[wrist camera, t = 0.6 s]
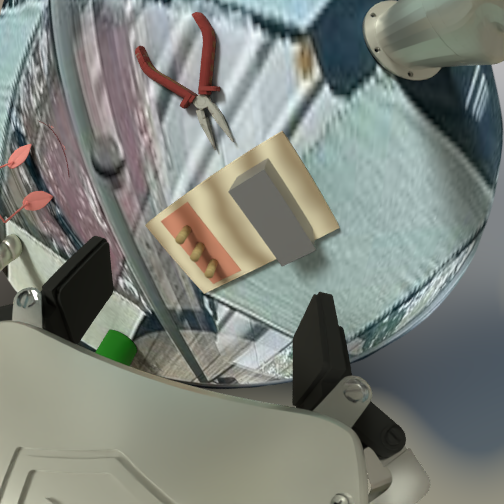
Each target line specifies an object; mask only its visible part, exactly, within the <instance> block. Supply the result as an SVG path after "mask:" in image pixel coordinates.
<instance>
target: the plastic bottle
mask: <svg viewBox="0 0 504 504" xmlns="http://www.w3.org/2000/svg"><path fill="white" fill-rule="evenodd" d="M21 253H22V244H21V241H20V239H19V238H18V237H17V236H16V235H14V234H11V235H9V236H7V237H6V238H5V239H4V240H3V242H2V243H1V244H0V271H1V270H2V269H3V268H4V267H5V266H6V265H8V264H9V263H10V262H11V261H13V260H15V259H17V258H18V257H19V256H20V254H21Z"/></svg>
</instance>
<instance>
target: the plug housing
mask: <svg viewBox="0 0 504 504" xmlns="http://www.w3.org/2000/svg"><path fill="white" fill-rule="evenodd" d="M228 192H229V194H230V195H231V196H232V198H233V199H234V200H235V202H236V203H237V205H238V206H239V207H240V209H241V210H242V211H243V213H244V214H245V216H246V217H247V218H248V220H249V221H250V223H251V224H252V225H253V227H254V228H255V229H256V231H257V232H258V234H259V235H260V236H261V238H262V239H263V241H264V242H265V243H266V245H267V246H268V248H269V249H270V250H271V252H272V253H273V255H274V256H275V257H276V259H277V260H278V262H279V263H280V264H281V266H284V265H286V264H288V263H290V262H292V261H295V260H297V259H299V258H301V257H303V256H305V255H307V254H309V253H311V252H313V251H315V250H316V247H315V240H314V234H313V228H312V226H311V224H310V223H309V221H308V219H307V218H306V216H305V214H304V213H303V211H302V210H301V208H300V206H299V205H298V203H297V202H296V200H295V198H294V197H293V195H292V194H291V192H290V190H289V189H288V187H287V186H286V184H285V183H284V181H283V180H282V178H281V177H280V175H279V174H278V172H277V170H276V169H275V167H274V166H273V164H272V163H271V161H270V160H269V159H268V158H267V159H265V160H264V161H262V162H260V163H259V164H257V165H255V166H254V167H252V168H250V169H249V170H247V171H246V172H244V173H242V174H241V175H239V176H238V177H237V178H236V180H235V181H234V183H233V185H232V186H231V188H230V189H229V191H228Z"/></svg>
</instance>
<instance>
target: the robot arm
mask: <svg viewBox="0 0 504 504" xmlns="http://www.w3.org/2000/svg"><path fill="white" fill-rule="evenodd" d="M371 16H373V17H371ZM363 35H364V40H365V42H366V44H367V47H368V49H369V50H370V52H371V54H372V55H373V56H374V58H375V59H376V60H377V61H378V62H379V63H380V64H381V65H382V66H383V67H384V68H385V69H387V70H388V71H389V72H391V73H393V74H395V75H396V76H398V77H401V78H404V79H408V80H425V79H428V78H431V77H433V76H434V75H435V74H437V73H438V72H439V70H440V69H441V67H449V66H466V65H492V64H497V63H500V62H502V61H504V0H399V1H384V2H380V3H378V4H376V5H374V6H373V7H372V8H371V9H370V10H369V11H368V12H367V14H366V16H365V18H364V22H363ZM374 49H376V50H377V52H375V50H374ZM408 73H409V75H408ZM42 288H43V289H42V291H41V292H40V291H39V290H38V289H36V288H25V289H23V290H21V291H19V292H18V293H17V294H16V296H15V298H14V302H13V304H10V305H6V306H2V307H0V504H416V503H417V502H418V501H419V500H420V499H421V498H423V497H424V496H425V495H426V493H427V492H428V491H429V488H430V479H429V477H428V475H427V473H426V472H425V471H424V469H423V467H422V466H421V464H420V463H419V462H418V460H417V458H416V457H415V455H414V454H413V452H412V451H411V449H406V447H405V442H406V437H405V433H404V431H403V430H402V428H401V427H400V426H399V425H397V424H396V423H395V422H394V421H393V420H392V419H390V418H389V417H388V416H387V415H386V414H385V413H383V412H382V411H381V410H380V409H379V408H378V407H376V406H375V405H374V404H373V403H372V402H371V398H372V391H371V388H370V386H369V384H368V383H367V382H366V381H365V380H363V379H362V378H360V377H357V376H352V373H351V367H350V361H349V355H348V350H347V344H346V339H345V334H344V330H343V328H342V327H341V326H339V325H338V320H337V315H336V310H335V305H334V300H333V296H332V295H331V294H327V293H322V292H319V293H318V295H316V294H314V295H313V297H312V299H311V301H310V303H309V306H308V308H307V310H306V312H305V314H304V316H303V318H302V320H301V322H300V325H299V327H298V329H297V331H296V333H295V335H294V338H293V405H294V406H296V408H294V407H289V406H283V405H277V404H271V403H265V402H260V401H255V400H250V399H245V398H239V397H234V396H230V395H225V394H221V393H217V392H212V391H208V390H204V389H200V388H197V387H193V386H189V385H186V384H182V383H179V382H175V381H172V380H168V379H165V378H162V377H159V376H156V375H153V374H150V373H147V372H144V371H141V370H138V369H135V368H132V367H130V366H127V365H124V364H122V363H119V362H116V361H114V360H111V359H109V358H106V357H104V356H101V355H99V354H96V353H94V352H92V351H89V350H87V349H85V348H83V347H80V346H78V345H76V344H78V343H79V342H80V340H81V339H82V337H83V336H84V334H85V333H86V331H87V330H88V328H89V327H90V325H91V324H92V322H93V321H94V319H95V318H96V316H97V315H98V313H99V312H100V311H101V309H102V308H103V306H104V305H105V303H106V302H107V301H108V299H109V298H110V296H111V295H112V293H113V281H112V271H111V261H110V249H109V243H107V241H106V239H105V238H101V237H98V236H94V237H92V238H91V239H90V240H89V241H88V242H87V243H86V244H85V245H83V246H82V247H81V248H80V249H79V250H78V251H77V252H76V253H75V254H74V255H73V256H72V257H71V258H70V259H69V260H68V261H67V262H66V263H64V264H63V265H62V266H61V267H60V268H59V269H58V270H57V271H56V272H55V273H54V275H53V276H52V277H51V278H50V279H49V280H48V281H47V282H46V283H45V284H44V285H43V286H42ZM367 473H368V475H367ZM367 479H369V481H370V484H371V491H370V493H369V495H368V480H367Z"/></svg>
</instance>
